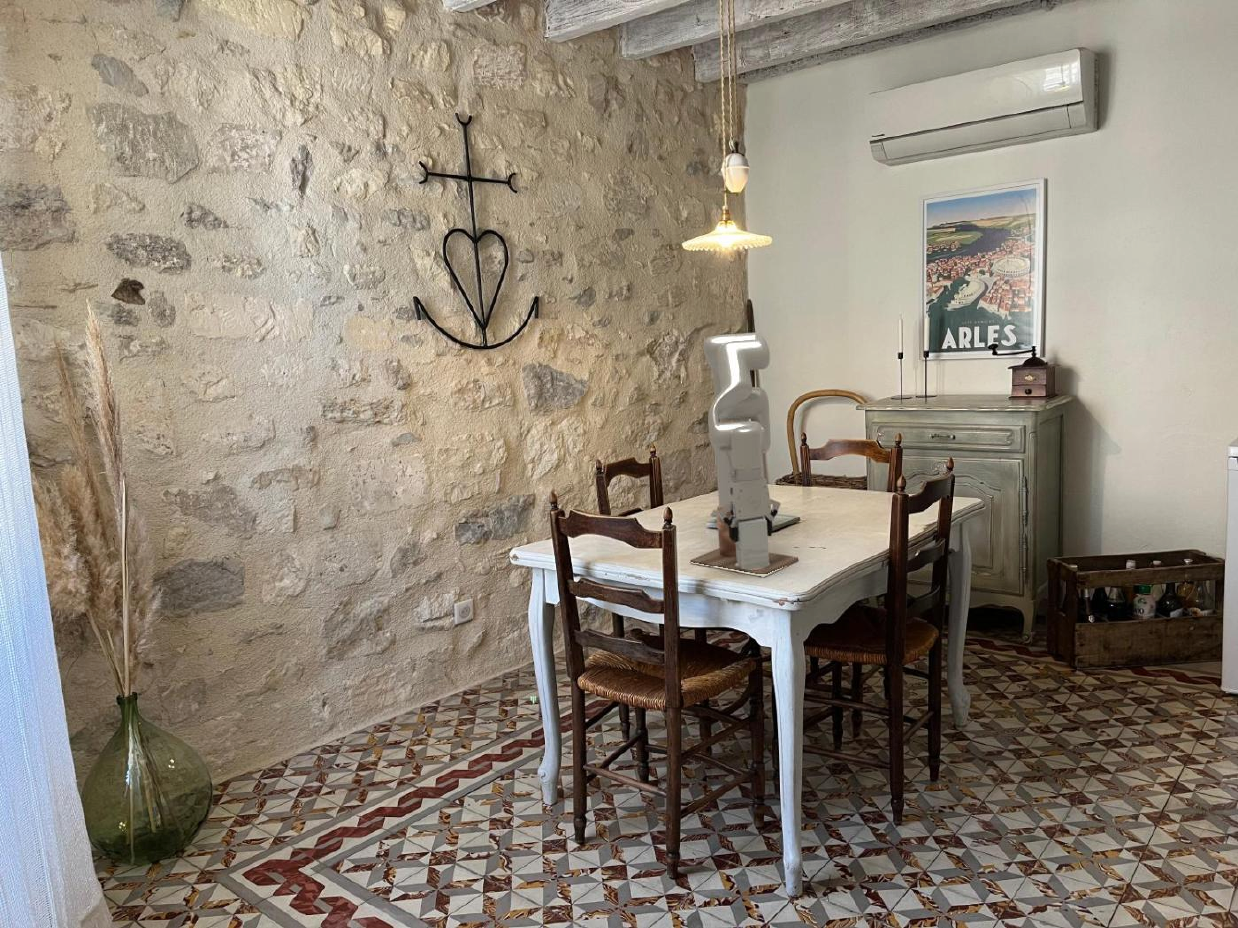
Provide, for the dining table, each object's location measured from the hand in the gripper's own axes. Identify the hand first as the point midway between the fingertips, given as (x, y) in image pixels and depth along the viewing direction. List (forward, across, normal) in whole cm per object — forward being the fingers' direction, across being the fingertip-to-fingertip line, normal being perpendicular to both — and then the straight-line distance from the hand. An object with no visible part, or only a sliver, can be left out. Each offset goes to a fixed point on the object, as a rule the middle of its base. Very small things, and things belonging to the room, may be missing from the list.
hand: (751, 537), depth 246 cm
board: (+8, 0, +6) cm, 10 cm away
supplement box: (+7, 0, 0) cm, 7 cm away
